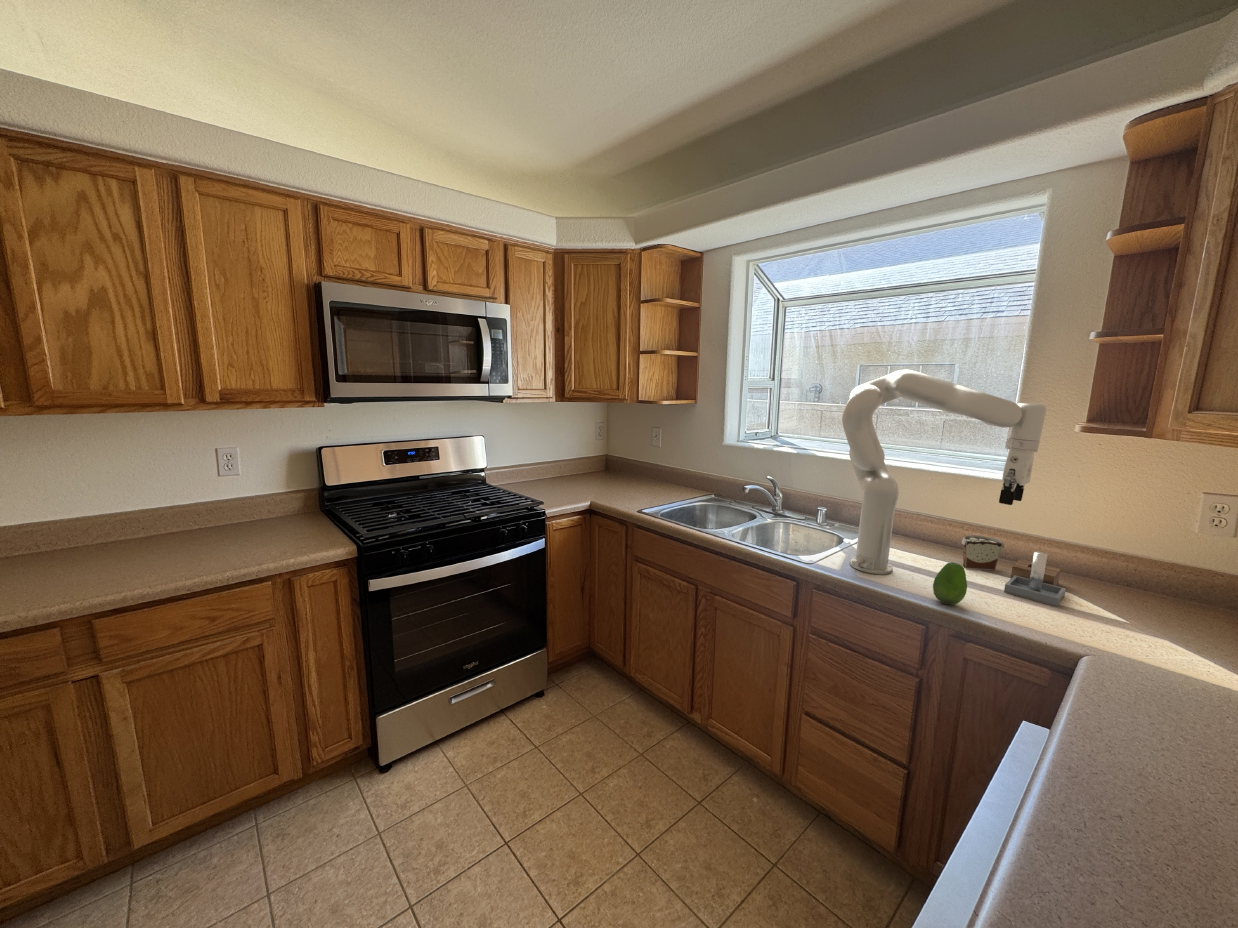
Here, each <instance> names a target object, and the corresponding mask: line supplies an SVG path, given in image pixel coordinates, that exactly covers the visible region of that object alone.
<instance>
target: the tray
mask: <svg viewBox="0 0 1238 928" xmlns="http://www.w3.org/2000/svg"><path fill="white" fill-rule="evenodd" d="M1028 584H1029V579H1027V578H1023V577H1019V576H1015V575H1014V576H1013V577H1012V578H1011V577H1010V579H1009V580H1008V581H1007V582H1006V583H1005V584H1004V589H1003V593H1006V594H1010V595H1011V596H1012V595H1013V596H1017V597H1020V598H1023V599H1027V600H1031V601H1035V602H1037V603H1040V604H1041V603H1042V604H1045V605H1048V606H1052V607H1056V608H1057V607H1058V606H1059V605H1060V603H1061V602H1062V600H1063V599H1064V598H1065V595H1066V590H1067V588H1066V587H1061V586H1059V585H1057V586H1054V585H1050V584H1046V583H1042V589H1041V593H1039V592H1036V591H1032V590H1028Z"/></svg>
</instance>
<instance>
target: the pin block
mask: <svg viewBox="0 0 1238 928" xmlns="http://www.w3.org/2000/svg"><path fill="white" fill-rule="evenodd" d="M1031 567H1032V561H1031V560H1026V559H1022V558H1020V559H1019V560H1017V561H1016V563H1015V564H1013V565H1012V568H1011V572H1010V573H1011V575H1010V579H1011V578H1012V577H1013V576H1014V575H1015V576H1019V577H1023V578H1027V579H1030V573H1031ZM1061 571H1062V568H1060V567H1056V566H1052V565H1048V564H1046V566H1045V572H1044V578H1043V583H1046V584H1050V585H1054V586H1059V583H1060V582H1059V580H1060V576H1061Z"/></svg>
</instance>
